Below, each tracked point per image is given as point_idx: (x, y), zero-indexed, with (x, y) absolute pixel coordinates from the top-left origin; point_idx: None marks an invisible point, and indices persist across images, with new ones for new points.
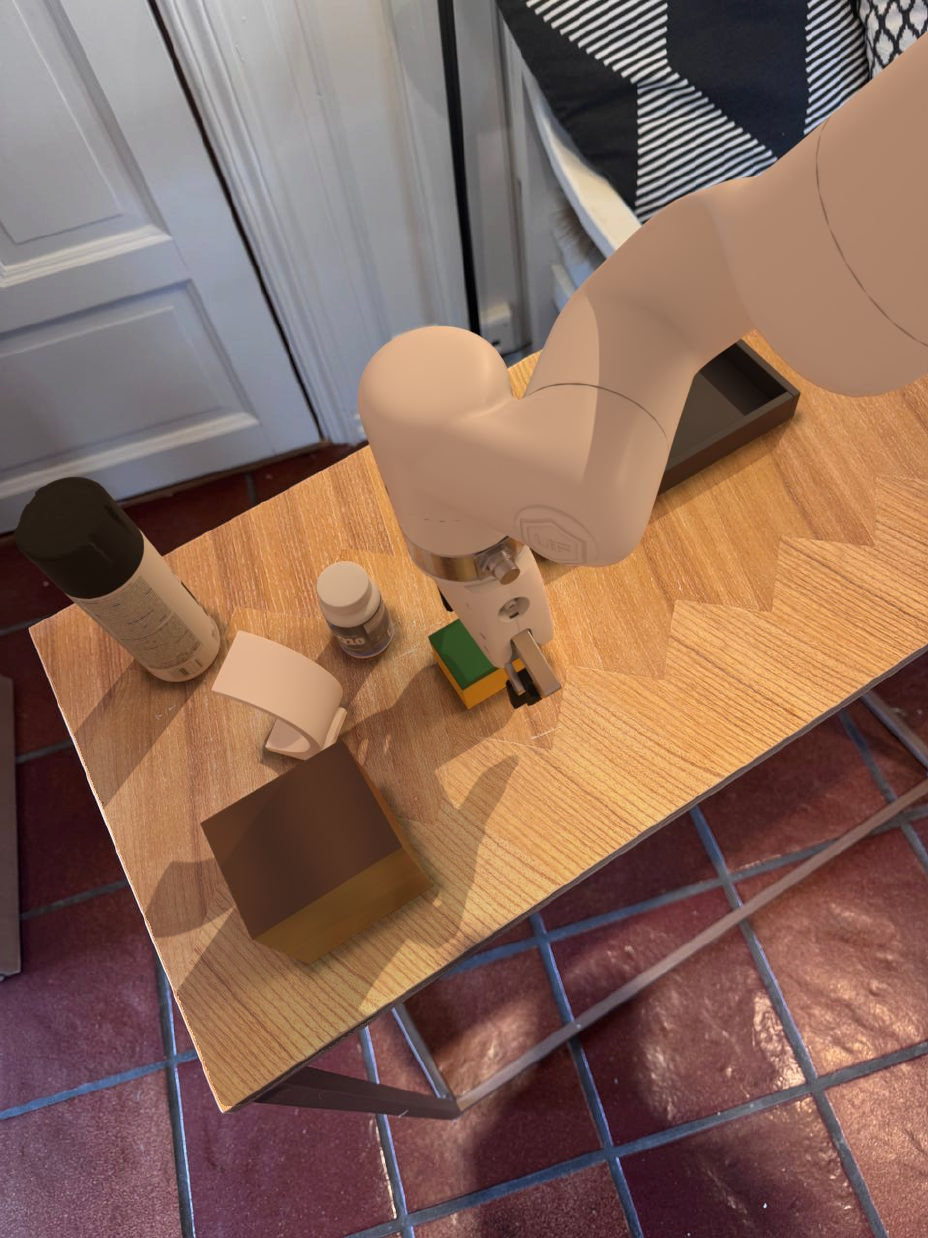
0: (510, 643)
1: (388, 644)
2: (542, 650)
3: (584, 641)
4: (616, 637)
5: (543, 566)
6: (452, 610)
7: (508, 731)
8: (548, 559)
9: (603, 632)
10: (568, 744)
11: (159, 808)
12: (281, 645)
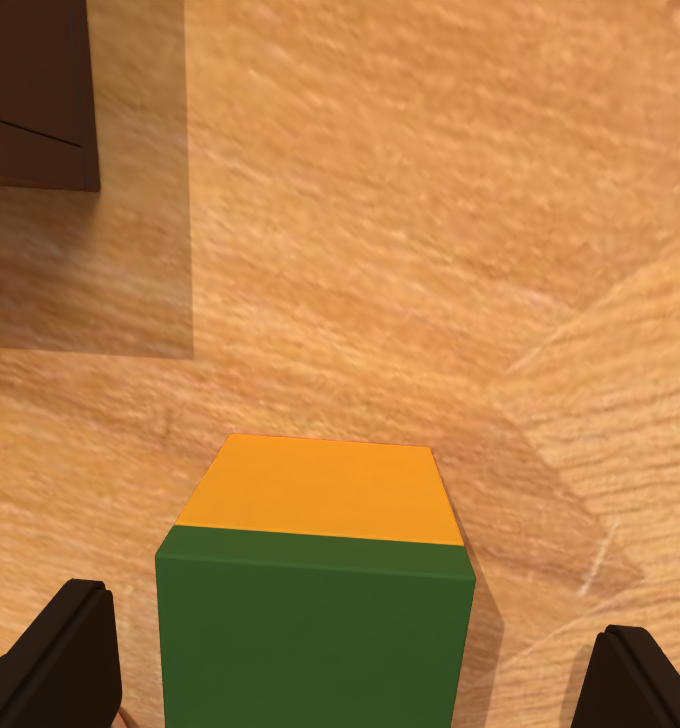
0: (399, 677)
1: (118, 720)
2: (449, 504)
3: (454, 296)
4: (520, 193)
5: (116, 224)
6: (117, 700)
7: (521, 625)
8: (98, 190)
9: (472, 219)
10: (671, 536)
11: None
12: None
